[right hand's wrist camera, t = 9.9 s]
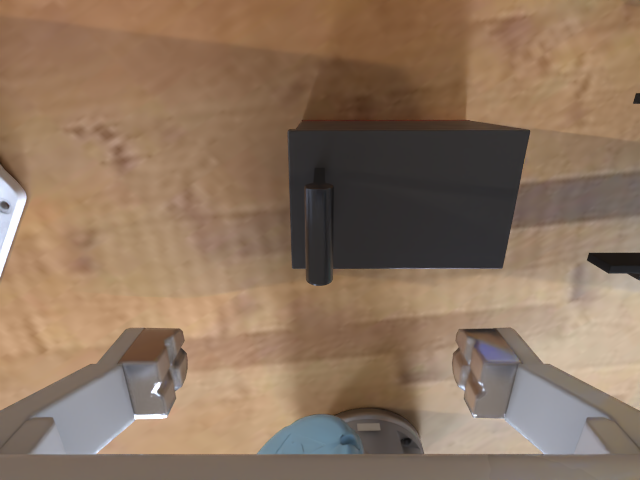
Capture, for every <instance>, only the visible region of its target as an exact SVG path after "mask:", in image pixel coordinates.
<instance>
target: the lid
mask: <svg viewBox="0 0 640 480" xmlns="http://www.w3.org/2000/svg"><path fill="white" fill-rule="evenodd" d="M529 134H530V130H526V129H290V130H288V159H289V190H290V220H291V250H292V268H293V269H306V280H307V282H308V283H309V284H312V285H316V286H322V285H327V284H329V283H331V282H332V280H333V269H502V268H503V263H504V258H505V254H506V249H507V244H508V239H509V234H510V229H511V224H512V219H513V214H514V209H515V204H516V199H517V194H518V189H519V184H520V179H521V174H522V169H523V164H524V159H525V154H526V149H527V144H528V139H529Z"/></svg>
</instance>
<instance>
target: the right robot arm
mask: <svg viewBox="0 0 640 480" xmlns="http://www.w3.org/2000/svg"><path fill="white" fill-rule="evenodd" d="M26 199H27V197H26V193H25V191H24V189H23V188H22V186H21V185H20V184H19V183H18V182H17V181H16V180H15V179H14V178H13V177H12V176H11V175H10V174H9V173H8V172H7V171H6V170H5V169H4V168H3V167H2V165H1V164H0V276H1V273H2V270H3V267H4V264H5V261H6V259H7V256H8V253H9V250H10V247H11V244H12V241H13V238H14V235H15V232H16V229H17V226H18V223H19V220H20V217H21V215H22V212H23V209H24V206H25V203H26ZM6 202H7V203H8V204H9V206H8V205H7V204H6ZM184 341H185V340H184V336H183V331H182V330H181V329H175V328H128V329H126V330H125V331H124V332H123V333H122V334H121V335H120V337H119V338H118V339H117V340H116V341H115V342H114V344H113V345H112V346H111V347H110V348H109V350H108V351H107V352H106V353H105V354H104V355H103V357H102V358H101V359H100V360H99V361H98V363H97V364H90V365H88V366H86V367H84V368H82V369H80V370H78V371H76V372H74V373H72V374H70V375H69V376H67V377H65V378H63V379H61V380H59V381H57V382H55V383H53V384H51V385H49V386H47V387H45V388H43V389H41V390H39V391H38V392H36V393H34V394H32V395H30V396H28V397H26V398H24V399H22V400H20V401H18V402H16V403H14V404H12V405H10V406H8V407H7V408H5V409H3V410H1V411H0V480H640V411H639V410H637V409H635V408H633V407H631V406H629V405H627V404H625V403H624V402H622V401H620V400H618V399H616V398H614V397H612V396H610V395H608V394H606V393H604V392H602V391H600V390H598V389H597V388H595V387H593V386H591V385H589V384H587V383H585V382H583V381H581V380H579V379H577V378H575V377H573V376H571V375H570V374H568V373H566V372H564V371H562V370H560V369H558V368H556V367H554V366H552V365H550V364H543V363H542V361H541V360H540V359H539V358H538V357H537V355H536V354H535V353H534V352H533V351H532V350H531V348H530V347H529V346H528V345H527V344H526V343H525V341H524V340H523V339H522V338H521V337H520V335H519V334H518V333H517V332H516V331H515V330H514V329H512V328H493V329H459V330H458V332H457V335H456V340H455V341H456V343H457V345H458V346H459V348H458V349H457V350H456V351H455V352H454V353H453V360H452V367H453V374H454V378H455V381H456V383H457V385H458V387H460V388H461V389H462V390H464V391H465V395H464V400H465V402H466V404H467V406H468V408H469V410H470V412H471V414H472V416H473V418H505V421H507V422H508V423H509V424H510V425H511V426H512V427H514V428H515V429H516V430H517V431H518V432H519V433H521V434H522V435H523V436H524V437H525V438H526V439H528V440H529V441H530V442H531V443H532V444H533V445H535V446H536V447H537V448H538V449H539V450H540V451H542V452H543V453H544V454H96V453H97V452H99V451H100V450H101V449H102V448H103V447H104V446H106V445H107V444H108V443H109V442H110V441H111V440H113V439H114V438H115V437H116V436H117V435H118V434H120V433H121V432H122V431H123V430H124V429H125V428H127V427H128V426H129V425H130V424H131V423H133V422H134V421H135V418H167V416H168V414H169V412H170V410H171V408H172V406H173V404H174V402H175V400H176V395H175V391H176V390H178V389H179V388H180V387H182V385H183V383H184V381H185V378H186V374H187V369H188V359H187V353H186V352H185V351H184V350H183V349H182V348H181V346H182V345H183V343H184Z"/></svg>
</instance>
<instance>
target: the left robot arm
mask: <svg viewBox="0 0 640 480" xmlns="http://www.w3.org/2000/svg"><path fill="white" fill-rule="evenodd" d="M633 104H640V93H636V95H635V99H634V102H633ZM587 261H589V262H591V263H592V264H594V265H596V266H597V267H599V268H601V269H602V270H604V271H605V272H607V273H627V274H629V275H631V276H632V277H634V278H636V279H638V280H640V253H589V255H588V258H587ZM257 454H424V452H423V448H422V444H421V441H420V438H419V435H418V433H417V431H416V429H415V428H414V427H413V426H412V424H411V423H409V422H408V421H407V420H406V419H404V418H403V417H401V416H399V415H397V414H395V413H393V412H390V411H386V410H382V409H376V408H359V409H353V410H348V411H345V412H342V413H339V414H337V415H335V416H334V415H329V414H315V415H310V416H307V417H304V418H301V419H299V420H297V421H295V422H294V423H293V424H291V425H289V426H287V427H284V428H283V429H282V430H280V431H279V432H278V433H276V434H275V435H274V436H273V437H272V438H271V439H270V440H269V441H268V442H267V443H266V444H265V445H264V446H263V447H262V448H261V449H260V451H259V452H258V453H257Z"/></svg>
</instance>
